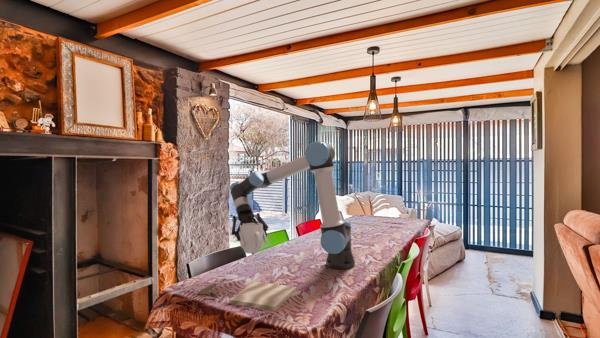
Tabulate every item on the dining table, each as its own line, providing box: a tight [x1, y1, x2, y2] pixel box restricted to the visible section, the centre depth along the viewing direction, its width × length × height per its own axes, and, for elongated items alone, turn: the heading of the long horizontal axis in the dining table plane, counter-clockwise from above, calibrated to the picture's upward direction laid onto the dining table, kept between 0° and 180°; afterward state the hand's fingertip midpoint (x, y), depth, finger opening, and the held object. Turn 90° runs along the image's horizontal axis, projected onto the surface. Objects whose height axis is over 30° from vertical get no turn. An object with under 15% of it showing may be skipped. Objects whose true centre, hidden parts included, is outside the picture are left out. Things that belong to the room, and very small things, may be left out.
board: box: [228, 281, 297, 312], centre depth 131 cm, size 20×20×2 cm
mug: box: [239, 223, 264, 254], centre depth 154 cm, size 15×11×13 cm
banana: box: [196, 277, 226, 297], centre depth 143 cm, size 9×20×2 cm, turn 3°
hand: (254, 244), depth 152 cm, fingers closed on mug, 11 cm apart
